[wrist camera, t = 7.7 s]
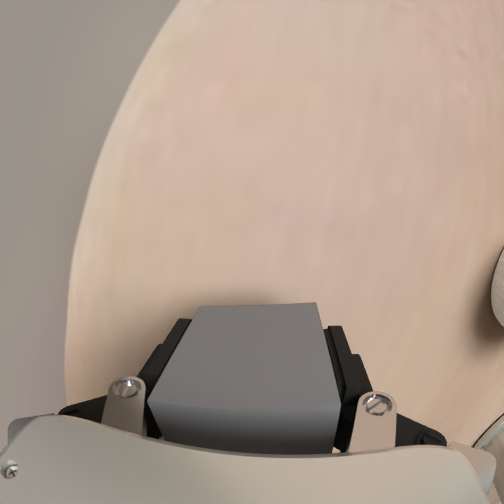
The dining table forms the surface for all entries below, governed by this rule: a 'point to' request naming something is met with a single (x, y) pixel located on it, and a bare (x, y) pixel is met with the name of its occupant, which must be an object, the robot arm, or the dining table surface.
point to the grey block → (250, 382)
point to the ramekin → (498, 291)
